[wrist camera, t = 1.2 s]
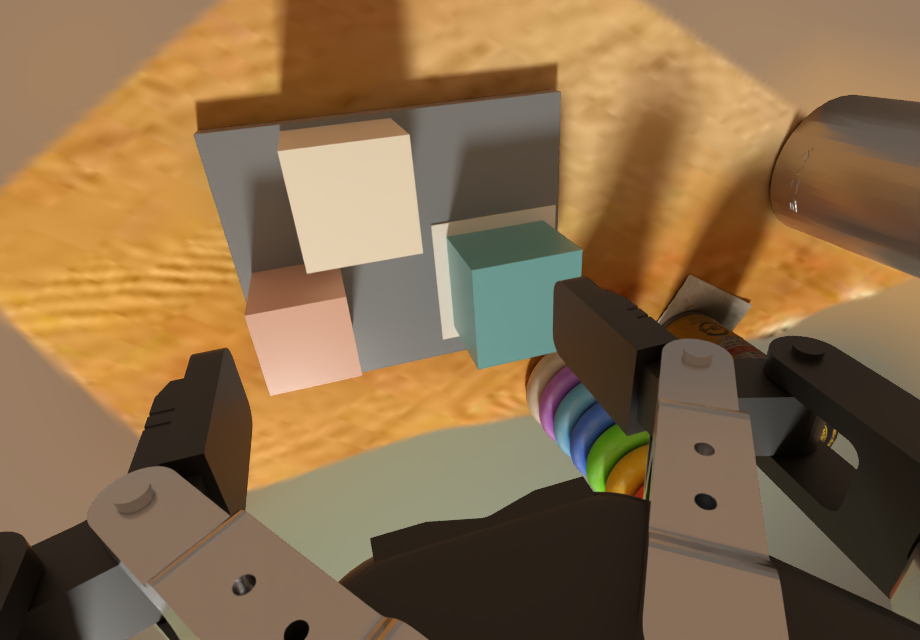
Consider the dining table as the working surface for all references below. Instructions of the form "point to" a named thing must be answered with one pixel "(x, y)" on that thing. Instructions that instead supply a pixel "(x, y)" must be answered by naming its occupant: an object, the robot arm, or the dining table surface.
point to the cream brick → (351, 193)
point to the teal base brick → (508, 289)
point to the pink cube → (301, 328)
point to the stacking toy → (586, 429)
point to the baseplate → (438, 197)
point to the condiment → (715, 324)
